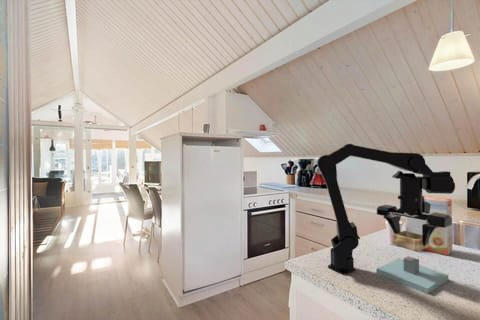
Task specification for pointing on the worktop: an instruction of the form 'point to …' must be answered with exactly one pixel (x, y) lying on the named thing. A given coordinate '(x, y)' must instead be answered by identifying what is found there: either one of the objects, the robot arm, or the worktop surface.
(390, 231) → the smoothie
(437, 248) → the cracker box
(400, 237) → the square frame
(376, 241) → the worktop surface
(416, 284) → the post board
